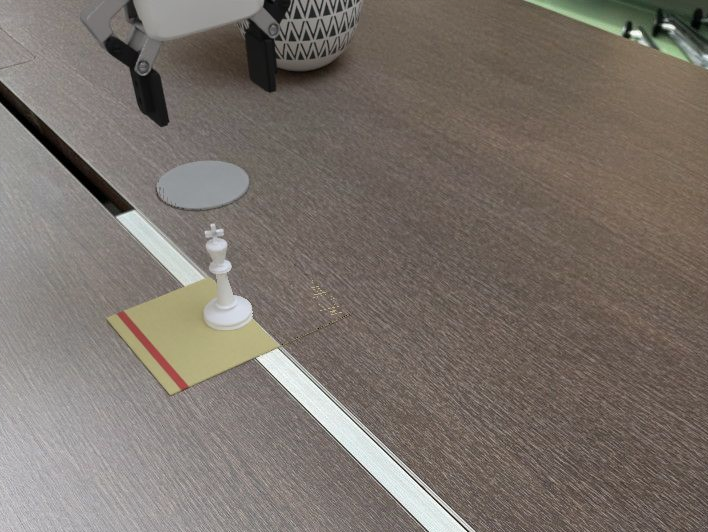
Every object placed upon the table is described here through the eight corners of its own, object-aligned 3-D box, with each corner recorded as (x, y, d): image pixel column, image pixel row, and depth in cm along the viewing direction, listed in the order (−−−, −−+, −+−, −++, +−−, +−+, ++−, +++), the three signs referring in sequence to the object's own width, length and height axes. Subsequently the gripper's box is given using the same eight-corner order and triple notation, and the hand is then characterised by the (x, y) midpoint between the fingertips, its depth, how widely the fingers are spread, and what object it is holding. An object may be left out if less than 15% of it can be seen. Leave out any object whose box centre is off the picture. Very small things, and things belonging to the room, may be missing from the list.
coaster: (183, 221, 95) (182, 218, 95) (140, 181, 101) (140, 178, 101) (266, 190, 99) (266, 188, 99) (221, 153, 105) (220, 151, 105)
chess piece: (256, 327, 82) (243, 236, 75) (205, 334, 82) (187, 243, 74) (250, 297, 85) (237, 207, 78) (201, 304, 85) (183, 213, 77)
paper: (170, 396, 76) (170, 394, 76) (106, 319, 84) (105, 317, 83) (351, 314, 84) (351, 313, 83) (277, 250, 91) (277, 249, 91)
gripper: (254, -193, 60) (278, 59, 73) (19, -153, 53) (92, 116, 66) (312, -173, 56) (327, 90, 69) (66, -128, 49) (133, 153, 62)
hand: (211, 102), depth 68 cm, fingers open, 9 cm apart
